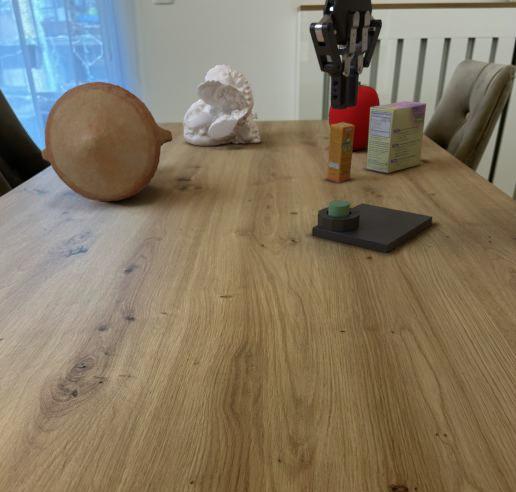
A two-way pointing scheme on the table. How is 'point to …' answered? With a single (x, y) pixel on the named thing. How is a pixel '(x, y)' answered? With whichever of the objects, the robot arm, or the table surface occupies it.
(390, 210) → the dark grey button base
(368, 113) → the red apple
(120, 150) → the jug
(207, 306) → the table surface
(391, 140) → the box
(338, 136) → the supplement box
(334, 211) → the button
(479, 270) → the table surface
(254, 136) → the white sculpted figurine
